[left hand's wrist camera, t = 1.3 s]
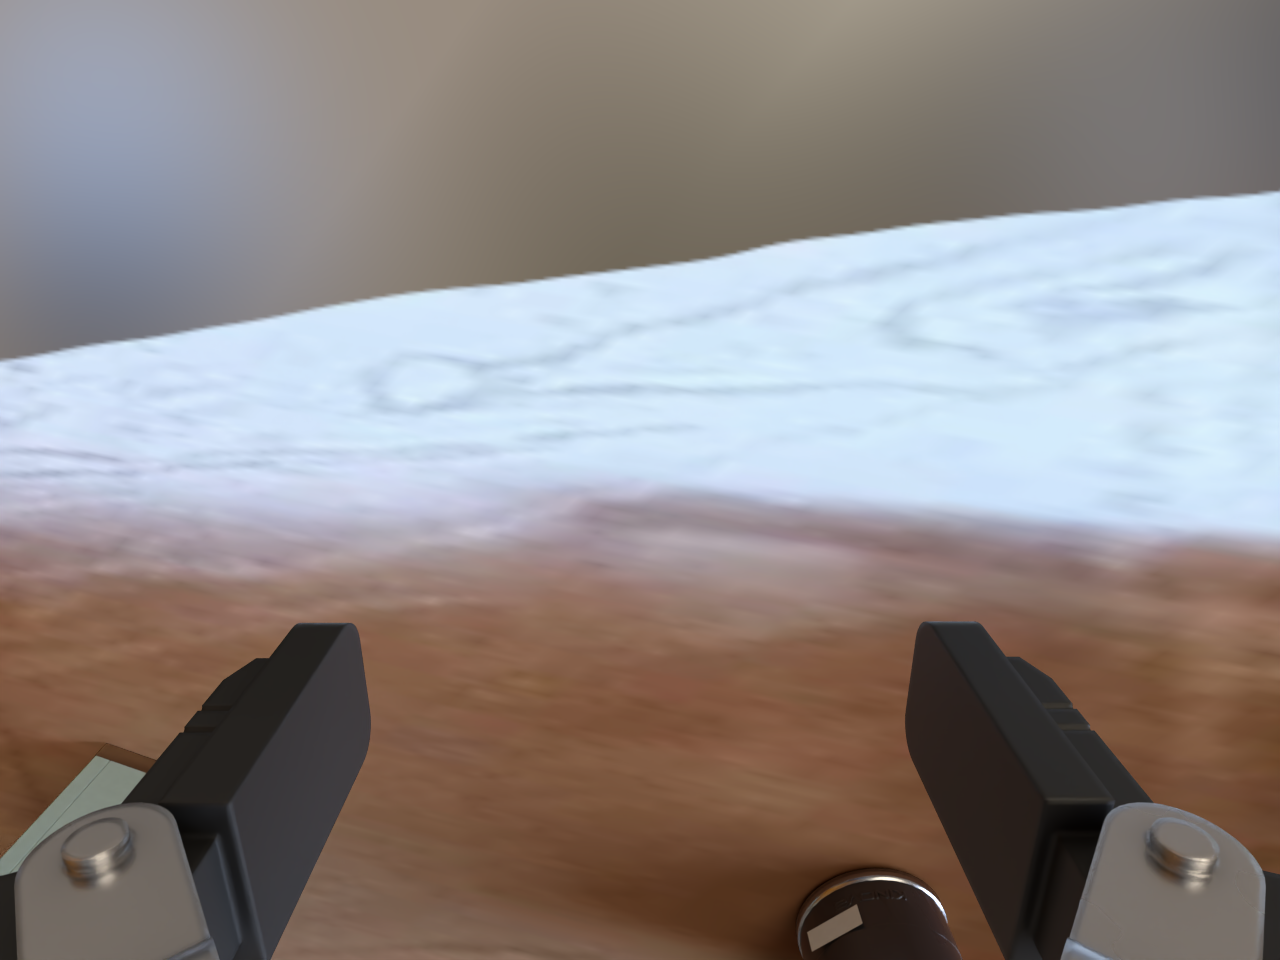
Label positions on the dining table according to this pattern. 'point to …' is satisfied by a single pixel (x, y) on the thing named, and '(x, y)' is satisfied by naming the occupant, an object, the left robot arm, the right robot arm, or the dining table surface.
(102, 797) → the chest
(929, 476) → the dining table surface
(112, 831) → the left robot arm
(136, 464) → the dining table surface
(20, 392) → the dining table surface
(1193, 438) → the dining table surface
